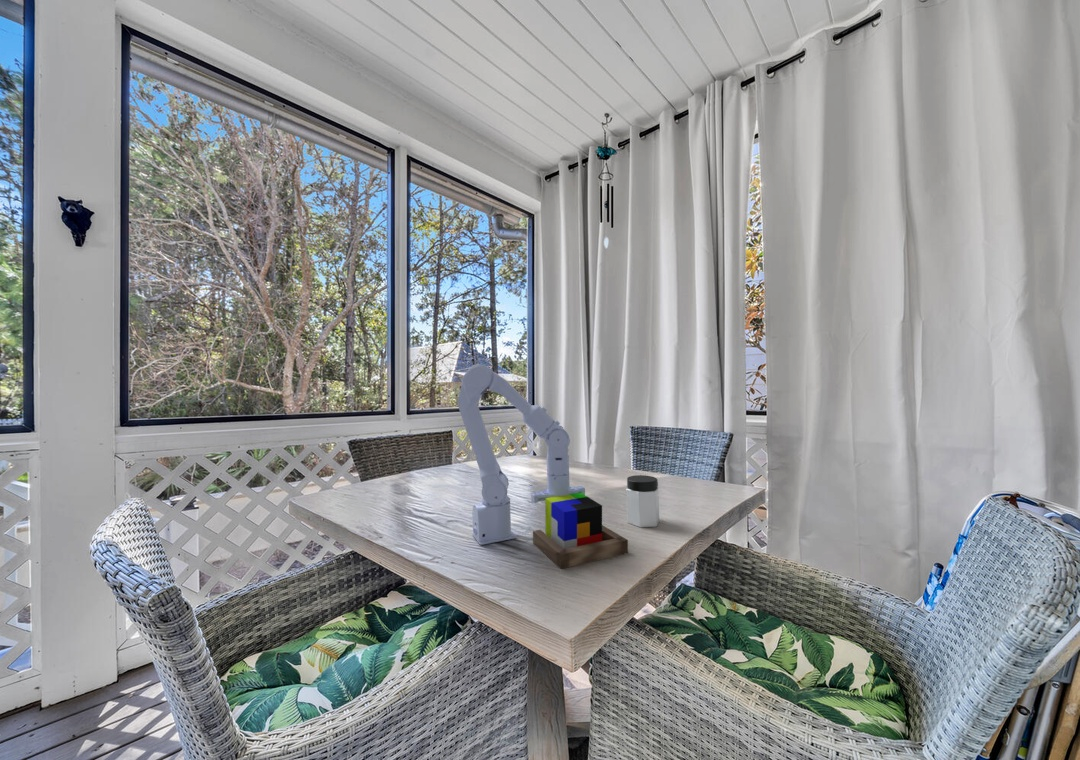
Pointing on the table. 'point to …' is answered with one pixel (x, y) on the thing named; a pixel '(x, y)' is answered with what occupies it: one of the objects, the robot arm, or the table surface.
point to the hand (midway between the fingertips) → (559, 526)
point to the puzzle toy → (573, 520)
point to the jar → (642, 501)
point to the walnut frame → (581, 548)
